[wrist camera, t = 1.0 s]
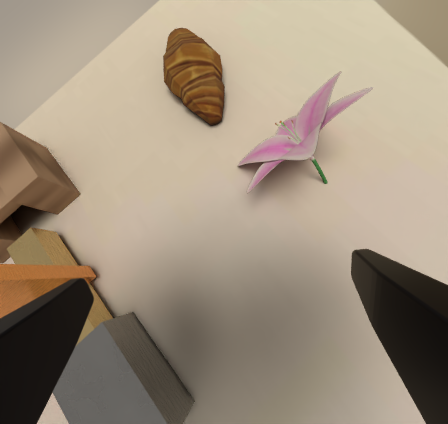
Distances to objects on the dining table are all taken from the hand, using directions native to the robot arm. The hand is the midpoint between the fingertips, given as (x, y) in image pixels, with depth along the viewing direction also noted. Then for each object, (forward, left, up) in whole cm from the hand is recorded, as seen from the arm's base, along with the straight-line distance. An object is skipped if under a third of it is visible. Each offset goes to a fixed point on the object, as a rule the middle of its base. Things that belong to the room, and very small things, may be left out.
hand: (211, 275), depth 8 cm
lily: (+11, -5, -16) cm, 20 cm away
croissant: (+22, +5, -16) cm, 28 cm away
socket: (+9, +25, -16) cm, 31 cm away
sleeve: (-9, +11, -16) cm, 21 cm away
